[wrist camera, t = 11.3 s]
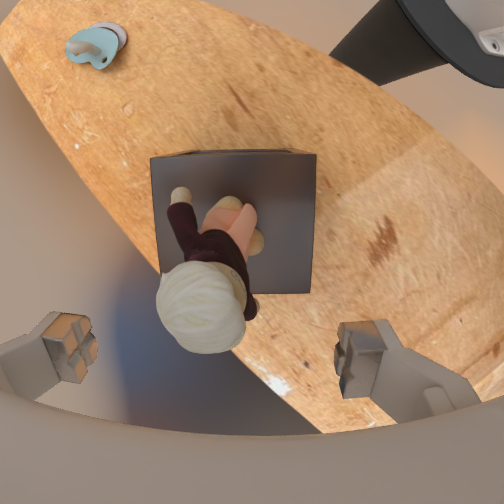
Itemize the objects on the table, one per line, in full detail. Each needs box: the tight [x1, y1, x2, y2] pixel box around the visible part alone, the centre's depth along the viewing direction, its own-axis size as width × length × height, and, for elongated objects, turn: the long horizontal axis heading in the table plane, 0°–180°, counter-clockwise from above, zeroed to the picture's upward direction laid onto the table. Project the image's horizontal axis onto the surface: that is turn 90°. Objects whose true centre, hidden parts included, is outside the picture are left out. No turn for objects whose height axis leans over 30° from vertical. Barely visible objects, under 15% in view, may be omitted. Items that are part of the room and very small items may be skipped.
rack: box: [150, 148, 317, 294], centre depth 27 cm, size 11×10×13 cm
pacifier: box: [65, 22, 127, 69], centre depth 24 cm, size 7×6×6 cm
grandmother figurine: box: [156, 187, 264, 354], centre depth 15 cm, size 8×4×13 cm, turn 40°
